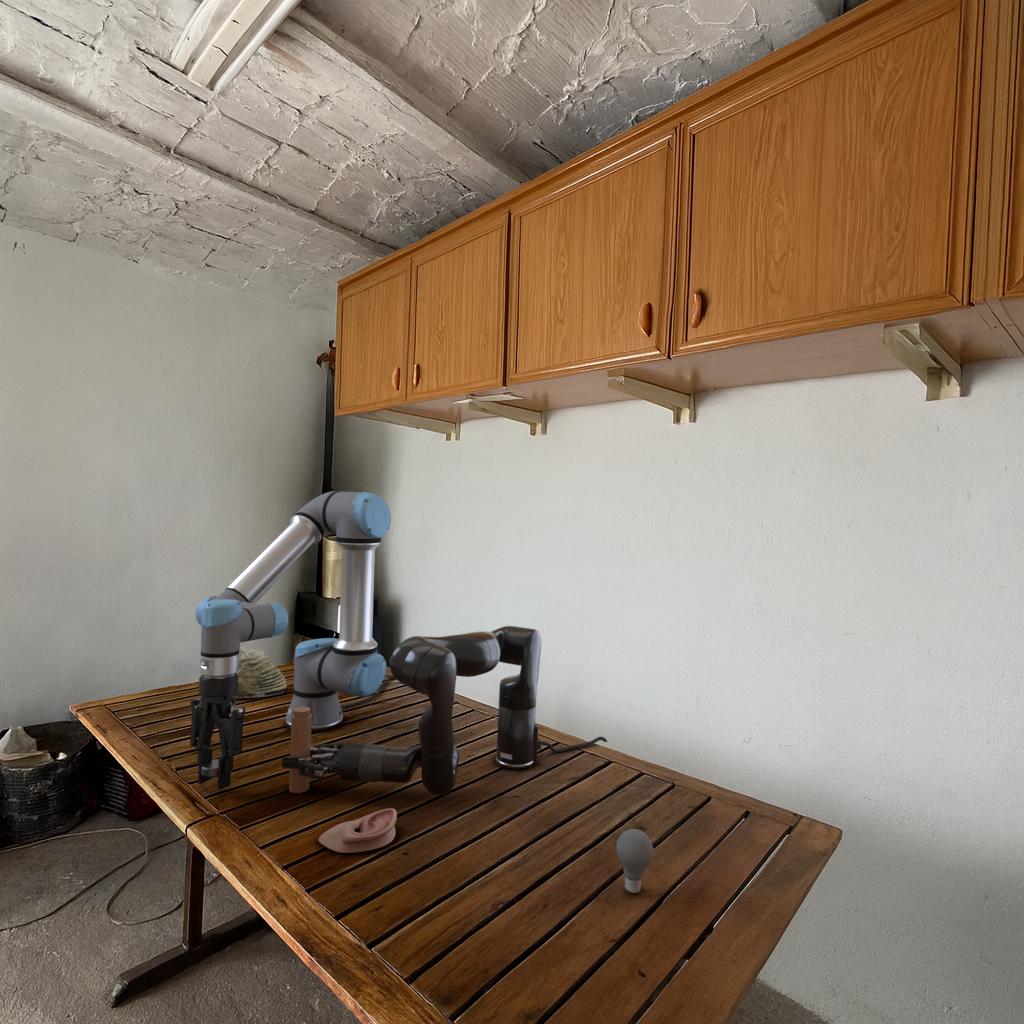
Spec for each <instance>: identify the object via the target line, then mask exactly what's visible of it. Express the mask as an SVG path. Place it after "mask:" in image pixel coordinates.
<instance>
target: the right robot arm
mask: <svg viewBox="0 0 1024 1024" xmlns="http://www.w3.org/2000/svg"><path fill="white" fill-rule="evenodd" d="M541 655H542V636H541V634H540V632H539V630H538V629H536V628H530V627H523V626H515V625H506V626H505V625H504V626H501V627H499V628H496V629H494V630H491V631H486V630H484V631H483V630H481V631H472V632H466V633H460V634H459V633H458V634H452V635H445V636H425V635H413V636H410V637H408V638H405V639H404V640H402V641H401V642H400V643H399V644H398V645H397V646H396V647H395V649H394V650H393V652H392V653H391V657H390V658H389V659H390V660H389V669H390V673H391V676H394V677H395V678H394V679H395V680H397V681H398V682H399V683H400V684H401V685H404V686H405V687H408V688H409V689H412V690H414V691H416V692H418V693H419V694H422V695H425V696H426V697H428V700H429V703H430V705H429V706H428V707H427V708H426V709H424V711H423V713H422V714H421V716H420V718H419V720H418V725H417V734H418V739H419V744H418V745H413V746H410V747H397V746H385V745H381V744H368V743H353V742H348V743H345V745H344V742H343V743H342V742H335V743H318V744H317V743H316V744H315V746H311V757H307V758H300V757H290V756H283V758H282V760H281V768H283V769H289V770H290V769H299V775H302V776H306V777H310V779H315V780H324V778H325V775H326V774H333V773H334V774H335V773H336V774H338V775H339V778H340V780H342V781H345V782H346V781H347V782H362V783H397V784H407V783H409V782H410V781H411V780H412V779H413V777H414V775H415V773H416V771H417V770H418V769H419V768H421V769H420V771H421V773H420V775H421V781H422V782H421V783H422V785H423V787H424V788H425V789H426V791H427V792H429V793H430V794H432V795H434V796H444V795H447V794H449V793H450V792H451V791H452V790H453V789H454V786H455V785H456V781H457V775H458V769H459V764H460V763H459V762H460V752H459V749H458V748H457V747H456V746H455V734H454V725H453V712H454V711H453V710H454V704H455V695H456V686H457V685H456V684H457V677H463V678H470V677H471V678H472V677H477V676H481V675H485V674H487V673H489V672H492V671H493V670H494V669H495V668H496V667H497V666H498V664H499V663H502V664H506V665H507V664H508V665H514V666H520V671H519V673H518V674H514V675H509V676H506V677H504V678H501V680H500V682H499V690H498V711H497V712H498V713H497V731H496V735H497V736H496V752H495V753H496V754H495V763H496V764H497V765H498V766H500V767H502V768H504V769H509V770H510V769H511V770H524V769H529V768H531V767H532V766H534V765H535V766H536V765H537V763H538V751H541V750H542V746H546V747H548V748H549V749H550V751H551V752H553V753H558V754H559V753H560V754H561V753H565V752H568V751H572V750H575V749H580V748H584V747H588V746H592V745H594V744H596V743H597V742H599V741H603V742H604V743H607V742H608V740H607V738H606V737H604V736H598V737H596V738H594V739H592V740H590V741H587V742H583V743H578V744H572V745H569V746H566V747H562V748H555V747H554V746H553V745H552V744H551V743H550V742H547V741H543V740H541V739H540V738H539V725H538V724H537V723H536V716H537V715H536V713H537V693H538V685H539V678H540V663H541ZM309 762H310V763H309ZM307 771H308V772H307Z"/></svg>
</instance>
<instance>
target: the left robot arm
mask: <svg viewBox="0 0 1024 1024" xmlns="http://www.w3.org/2000/svg"><path fill="white" fill-rule="evenodd" d="M289 523H290V524H289V525H287V527H286V528H285V529H284V530H283V531H282V532H281V533H280V534H278V536H277V537H276V538H275V539H274V540H273V541H272V542H271V543H269V545H268V546H267V547H265V549H264V550H263V551H262V552H261V553H260V554H259V555H258V556H257V557H256V558H255V559H254V560H253V561H252V562H251V563H250V564H248V566H247V567H246V568H244V570H243V571H242V572H240V574H239V575H238V576H237V577H235V579H234V580H233V581H232V582H230V584H229V585H228V586H226V588H225V589H223V591H222V592H221V593H219V595H216V596H215V595H214V596H207V597H205V598H203V599H202V600H200V602H198V604H197V606H196V608H195V619H196V622H197V623H198V624H199V625H200V626H201V628H200V629H201V631H200V658H199V674H200V676H199V678H198V694H199V695H200V697H198V698H194V699H191V700H190V703H189V704H190V708H191V719H190V738H189V739H190V741H189V745H190V747H191V748H193V747H194V748H195V750H196V752H197V761H196V763H197V766H198V772H197V784H198V785H202V784H205V783H207V782H209V781H210V780H212V777H207V776H203V775H202V774H201V770H202V764H203V763H204V762H206V761H209V760H213V748H211V747H213V744H212V743H211V742H212V738H213V733H214V731H215V726H217V729H218V737H219V744H220V752H221V756H219V757H218V759H219V761H218V776H217V782H216V783H217V784H216V785H217V787H216V790H218V791H221V790H223V789H225V788H227V787H230V786H231V783H232V782H231V780H232V772H233V770H234V757H236V756H238V755H241V754H242V752H243V737H244V736H243V735H244V717H245V714H246V711H247V709H246V707H244V706H242V707H240V706H238V705H237V704H236V703H237V702H236V698H234V695H235V693H236V692H237V690H238V675H237V672H238V671H239V653H240V647H241V643H247V642H250V641H257V640H262V639H271V638H272V637H275V636H280V635H282V634H283V633H284V632H285V631H286V630H287V628H288V625H289V614H288V611H287V609H286V607H285V606H284V605H283V604H280V603H278V602H273V603H271V602H267V603H264V604H261V603H260V604H259V603H258V601H260V599H262V598H263V596H264V595H265V594H266V593H267V592H268V591H269V590H270V589H271V588H272V587H273V586H274V585H275V583H276V582H277V581H278V580H279V579H281V577H282V576H283V575H284V574H285V573H286V572H287V571H288V570H289V569H290V568H291V567H292V565H294V563H296V561H297V560H299V559H300V558H301V556H302V555H303V554H304V553H305V552H306V551H307V550H308V549H309V548H310V547H311V545H312V544H314V545H315V544H318V543H320V542H321V540H323V538H325V537H327V536H329V535H335V543H336V545H338V546H339V547H340V549H341V564H340V565H341V566H340V567H341V570H340V595H339V597H340V599H339V600H340V601H339V629H338V630H339V632H338V638H335V637H324V638H323V637H322V638H313V639H308V640H304V641H302V642H299V643H298V644H297V645H296V647H295V652H294V653H295V654H294V657H293V658H294V660H293V662H294V663H293V665H294V666H293V695H292V696H293V697H292V699H291V702H290V704H289V708H288V709H287V713H286V715H285V726H286V728H287V729H289V730H291V717H292V715H293V710H294V708H297V707H309V708H311V714H312V730H311V733H316V732H325V731H329V730H332V729H335V728H337V727H339V726H340V725H342V723H343V722H344V714H343V709H345V708H349V707H353V706H357V705H360V704H364V703H366V702H368V701H369V702H370V701H371V700H372V699H375V698H376V697H378V696H379V695H380V694H381V692H382V690H383V689H384V687H385V685H386V684H387V683H388V682H389V681H390V680H392V679H395V677H394V676H393V675H391V676H389V677H387V678H386V679H385V675H386V672H387V662H386V659H385V658H384V656H383V655H381V654H380V653H378V642H377V641H376V640H375V639H374V638H373V622H374V621H373V619H374V618H373V617H374V590H375V589H374V587H375V586H374V585H375V560H376V559H375V556H376V549H377V548H378V547H379V546H380V545H381V544H382V538H383V537H384V536H386V535H387V533H388V532H389V530H390V527H391V523H392V515H391V511H390V507H389V505H388V503H387V502H386V501H385V498H383V497H382V496H380V495H379V494H377V493H373V492H366V491H361V492H360V491H359V492H358V491H339V490H333V491H328V492H325V493H322V494H320V495H318V496H316V497H315V498H313V499H311V500H310V501H309V502H307V503H306V504H304V506H302V507H301V508H300V509H298V511H297V512H296V513H295V514H294V515H293V516H291V518H290V520H289ZM384 679H385V680H384ZM377 690H378V691H377ZM376 691H377V692H376ZM338 693H340V694H344V695H348V696H350V697H358V698H364V699H360V700H358V701H355V702H350V703H346V704H343V705H341V702H340V699H339V695H338Z"/></svg>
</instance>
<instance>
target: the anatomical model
mask: <svg viewBox="0 0 1024 1024" xmlns="http://www.w3.org/2000/svg"><path fill="white" fill-rule="evenodd" d="M397 816H398V813H397V810H396V809H395V808H392V807H390V808H384V809H380V810H377V811H374V812H371V813H369V814H366V815H364V816H362V817H360V818H357V819H354V820H348V821H343V822H341V823H339V824H335V825H334V826H332V827H330V828H328V830H326V831H324V832H323V833H322V834H321V835H320V836H319V837H318V842H319V843H320V844H321V845H322V846H324V847H325V848H327V849H329V850H332V851H333V852H336V853H339V854H351V853H361V852H367V851H372V850H376V849H380V848H382V847H385V846H387V845H389V844H390V843H392V842H393V840H394V839H395V837H396V833H397V832H396V827H395V825H396V823H397V818H398V817H397Z"/></svg>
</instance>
